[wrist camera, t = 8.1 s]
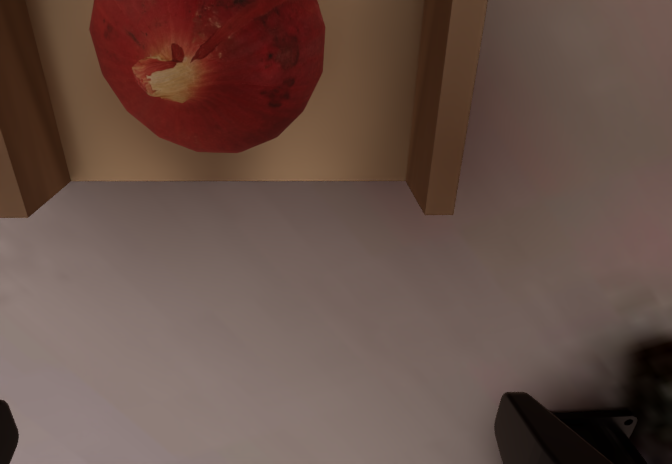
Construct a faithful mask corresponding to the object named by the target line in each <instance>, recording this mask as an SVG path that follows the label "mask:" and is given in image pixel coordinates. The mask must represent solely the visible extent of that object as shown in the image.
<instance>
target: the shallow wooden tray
mask: <svg viewBox="0 0 672 464" xmlns="http://www.w3.org/2000/svg"><path fill="white" fill-rule="evenodd" d="M317 1H318V4H319V7H320V11H321V14H322V17H323V21H324V24H325V27H326V28H325V44H324V60H323V73H322V75H321V77H320V79H319V81H318V83H317V85H316V87H315V89H314V91H313V93H312V95H311V97H310V99H309V101H308V103H307V105H306V107H305V109H304V111H303V112H302V113H301V114H300V115H299V116H298V117H297V118H296V119H295V120H294V121H293V122H292V123H291V124H290V125H289V126H288V127H287V128H286V129H285V130H284V131H283V132H282V133H281V134H280V135H279V136H278V137H277V138H274V139H272V140H270V141H267V142H265V143H262V144H260V145H257V146H255V147H252V148H250V149H248V150H245V151H243V152H239V153H212V152H196V151H194V150H191V149H188V148H186V147H183V146H180V145H178V144H175V143H172V142H170V141H167V140H165V139H162V138H159V137H158V136H157V135H155V134H154V133H153V132H152V131H151V130H149V129H148V128H147V127H146V126H144V125H143V124H142V123H141V122H140V121H138V120H137V119H136V118H135V117H134V116H132V115H131V114H130V113H129V112H127V111H126V109H125V108H124V106H123V105H122V103H121V102H120V100H119V99H118V97H117V96H116V94H115V93H114V91H113V90H112V88H111V87H110V85H109V84H108V82H107V81H106V79H105V78H104V76H103V75H102V72H101V69H100V65H99V62H98V58H97V55H96V51H95V48H94V44H93V41H92V38H91V34H90V31H89V27H90V21H91V15H92V10H93V4H94V0H0V218H28V217H29V216H31V215H32V214H33V213H34V212H35V211H36V210H38V209H39V208H40V207H41V206H42V205H43V204H45V203H46V202H47V201H48V200H49V199H51V198H52V197H53V196H54V195H55V194H56V193H58V192H59V191H60V190H61V189H62V188H63V187H65V186H66V185H67V184H68V183H69V182H71V181H406V182H407V184H408V186H409V188H410V190H411V191H412V193H413V195H414V197H415V198H416V200H417V202H418V204H419V206H420V207H421V209H422V211H423V213H424V214H425V215H453V213H454V207H455V201H456V195H457V189H458V182H459V176H460V170H461V164H462V157H463V151H464V145H465V139H466V133H467V126H468V120H469V114H470V108H471V102H472V95H473V89H474V83H475V77H476V71H477V64H478V58H479V52H480V46H481V40H482V33H483V27H484V21H485V15H486V9H487V2H488V0H317Z"/></svg>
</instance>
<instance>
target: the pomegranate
mask: <svg viewBox="0 0 672 464" xmlns="http://www.w3.org/2000/svg"><path fill="white" fill-rule="evenodd" d="M325 28H326V27H325V24H324V21H323V17H322V14H321V11H320V7H319V4H318V1H317V0H94V4H93V10H92V15H91V21H90V27H89V31H90V34H91V38H92V41H93V44H94V48H95V51H96V55H97V58H98V62H99V65H100V69H101V72H102V75H103V76H104V78H105V79H106V81H107V82H108V84H109V85H110V87H111V88H112V90H113V91H114V93H115V94H116V96H117V97H118V99H119V100H120V102H121V103H122V105H123V106H124V108H125V109H126V111H127V112H129V113H130V114H131V115H132V116H134V117H135V118H136V119H137V120H138V121H140V122H141V123H142V124H143V125H144V126H146V127H147V128H148V129H149V130H151V131H152V132H153V133H154V134H155V135H157V136H158V137H159V138H162V139H165V140H167V141H170V142H172V143H175V144H178V145H180V146H183V147H186V148H188V149H191V150H194V151H196V152H212V153H239V152H243V151H245V150H248V149H250V148H252V147H255V146H257V145H260V144H262V143H265V142H267V141H270V140H272V139H274V138H277V137H278V136H279V135H280V134H281V133H282V132H283V131H284V130H285V129H286V128H287V127H288V126H289V125H290V124H291V123H292V122H293V121H294V120H295V119H296V118H297V117H298V116H299V115H300V114H301V113H302V112H303V111H304V109H305V107H306V105H307V103H308V101H309V99H310V97H311V95H312V93H313V91H314V89H315V87H316V85H317V83H318V81H319V79H320V77H321V75H322V73H323V60H324V44H325Z"/></svg>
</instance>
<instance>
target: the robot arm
mask: <svg viewBox="0 0 672 464" xmlns="http://www.w3.org/2000/svg"><path fill="white" fill-rule="evenodd" d="M636 423H637V418H636V416H635V415H634V414H633V413H632V412H631V411H603V412H579V413H555V414H552V413H551V412H550V411H548V410H547V409H546V408H545V407H544V406H542V405H541V404H540V403H539V402H538V401H536V400H535V399H534V398H533V397H531V396H530V395H529V394H527V393H525V392H506V393H504V394H503V395H502V398H501V401H500V405H499V408H498V412H497V415H496V419H495V424H494V430H495V436H496V440H497V444H498V447H499V451H500V455H501V458H502V462H503V464H647V462H646V461H645V460H644V458H643V457H642V456H641V454H640V453H639V452H638V450H637V449H636V448H635V446H634V445H633V443H632V442H631V441H630V439H629V438H630V436H631V434H632V431H633V429H634V427H635V425H636ZM18 438H19V434H18V429H17V426H16V424H15V421H14V419H13V416H12V413H11V411H10V408H9V405H8V404H7V403H6V402H5V401H4V400H0V464H10V461H11V459H12V457H13V454H14V452H15V449H16V447H17V443H18Z"/></svg>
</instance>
